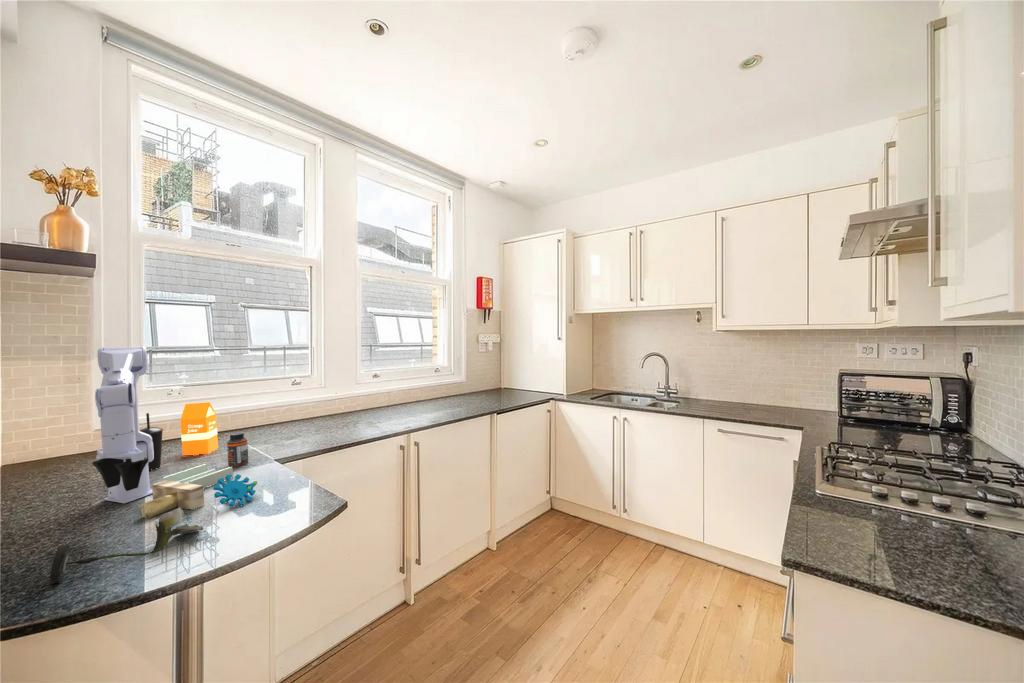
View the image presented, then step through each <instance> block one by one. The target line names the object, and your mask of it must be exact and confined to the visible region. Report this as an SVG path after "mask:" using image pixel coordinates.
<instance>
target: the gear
mask: <svg viewBox="0 0 1024 683" xmlns="http://www.w3.org/2000/svg"><path fill="white" fill-rule="evenodd" d="M231 477H232V475H227V476H226V477H225V478H226V482H225V481H224V478H221V479H219V480H218V481H217V482H218V484H216V485H214V487H213V488H212V490H213V491H215V493H214V498H215V499H216V498H220V500H219V504H221V505H224V504H226V503H225V502H228V501H229V503H228V504H227V505H228V506H229V507H231V508H233V507H235V505H236V501H239V502H238V503H237V506H238V507H242V506H241V505H243V506H244V505H245V504H246V503H249V501H250V502H252V500H253V496H254V495H255V494H256V492H257V491H256V490H255V489H254V488H255V487H256V486H257V485H258V481H257V480H254V481H253V482H251V483H249V481H250V478H249V477H248V476H246V477H244V479H241V478H242V475H241V474H236V475H235V476H234V480H231V479H232V478H231ZM240 479H241V480H240ZM221 486H222V487H221ZM244 498H245V500H244ZM230 500H231V501H230Z"/></svg>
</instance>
